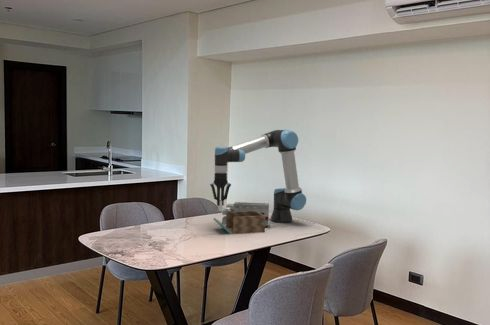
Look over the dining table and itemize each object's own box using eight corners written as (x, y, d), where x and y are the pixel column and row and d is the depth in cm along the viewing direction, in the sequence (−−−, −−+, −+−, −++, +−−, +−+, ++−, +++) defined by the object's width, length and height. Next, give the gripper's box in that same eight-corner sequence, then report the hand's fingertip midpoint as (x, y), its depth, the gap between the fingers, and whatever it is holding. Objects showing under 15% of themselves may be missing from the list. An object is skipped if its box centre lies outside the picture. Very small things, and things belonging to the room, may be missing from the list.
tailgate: (225, 227, 280) (214, 217, 277) (233, 233, 265) (221, 223, 262) (224, 229, 279) (213, 219, 276) (231, 235, 264) (220, 224, 261)
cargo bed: (255, 228, 286) (255, 210, 286) (264, 234, 271) (265, 215, 270) (225, 230, 280) (226, 212, 279) (233, 236, 265) (234, 217, 264)
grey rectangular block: (223, 223, 299) (223, 201, 298) (268, 225, 296) (268, 203, 295) (221, 226, 291) (222, 203, 290) (267, 228, 288) (268, 205, 287)
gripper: (229, 171, 273) (228, 209, 275) (208, 171, 268) (208, 210, 270) (232, 172, 266) (232, 211, 268) (211, 173, 261) (211, 212, 263)
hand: (220, 210), depth 269 cm, fingers closed
